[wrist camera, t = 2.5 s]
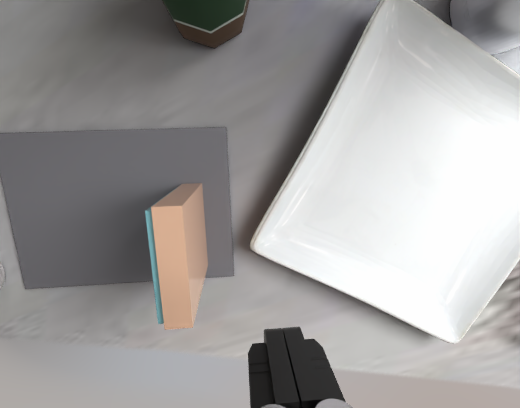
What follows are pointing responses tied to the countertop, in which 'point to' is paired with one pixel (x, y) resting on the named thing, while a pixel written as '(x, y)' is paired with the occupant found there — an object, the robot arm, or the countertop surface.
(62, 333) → the countertop surface
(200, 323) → the countertop surface
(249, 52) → the countertop surface
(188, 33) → the beer bottle
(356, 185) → the square plate
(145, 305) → the countertop surface
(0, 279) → the beer glass
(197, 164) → the mat
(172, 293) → the tile
